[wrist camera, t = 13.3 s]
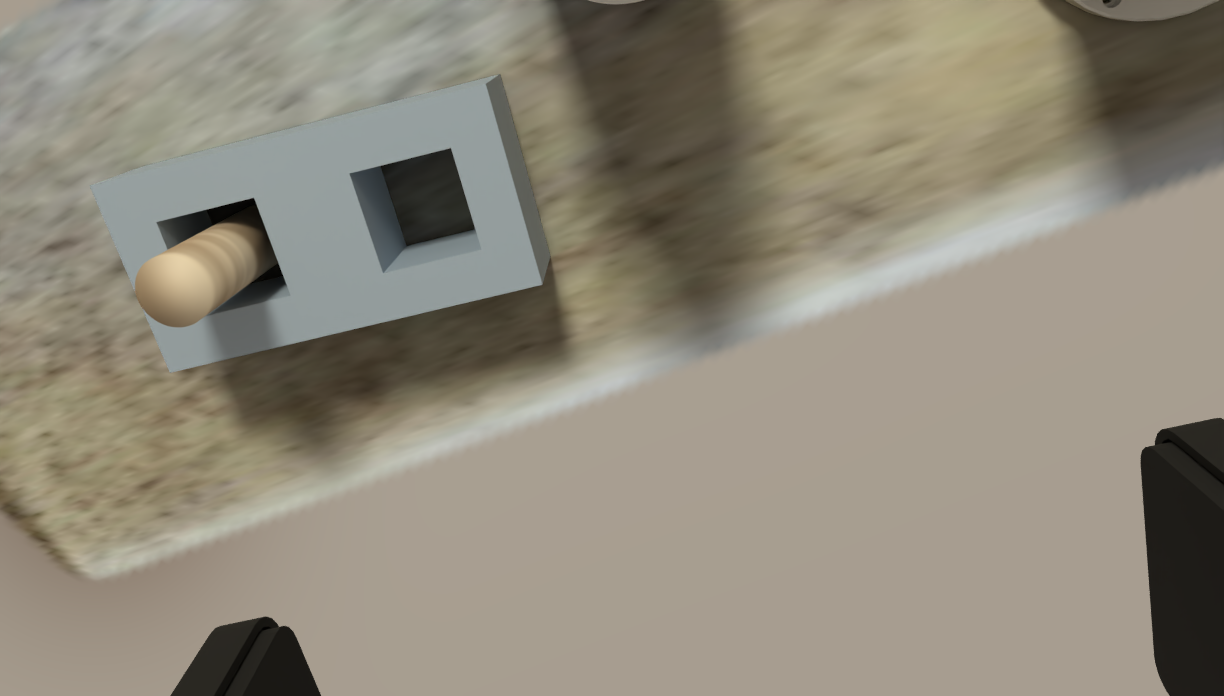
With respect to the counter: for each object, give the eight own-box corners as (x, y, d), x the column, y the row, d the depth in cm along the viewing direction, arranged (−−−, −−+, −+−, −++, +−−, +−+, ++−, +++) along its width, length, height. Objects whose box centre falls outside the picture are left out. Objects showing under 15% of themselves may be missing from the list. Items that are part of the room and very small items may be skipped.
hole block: (500, 74, 46) (485, 83, 41) (550, 256, 49) (542, 284, 44) (142, 166, 47) (89, 185, 43) (212, 336, 50) (170, 372, 46)
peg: (281, 197, 48) (192, 247, 38) (302, 255, 49) (221, 318, 39) (224, 212, 48) (122, 265, 39) (246, 269, 49) (152, 334, 40)
